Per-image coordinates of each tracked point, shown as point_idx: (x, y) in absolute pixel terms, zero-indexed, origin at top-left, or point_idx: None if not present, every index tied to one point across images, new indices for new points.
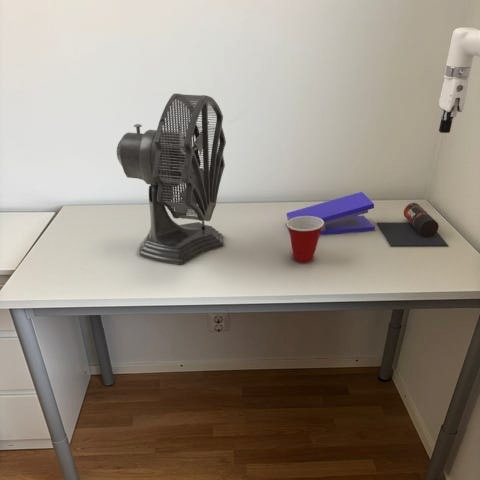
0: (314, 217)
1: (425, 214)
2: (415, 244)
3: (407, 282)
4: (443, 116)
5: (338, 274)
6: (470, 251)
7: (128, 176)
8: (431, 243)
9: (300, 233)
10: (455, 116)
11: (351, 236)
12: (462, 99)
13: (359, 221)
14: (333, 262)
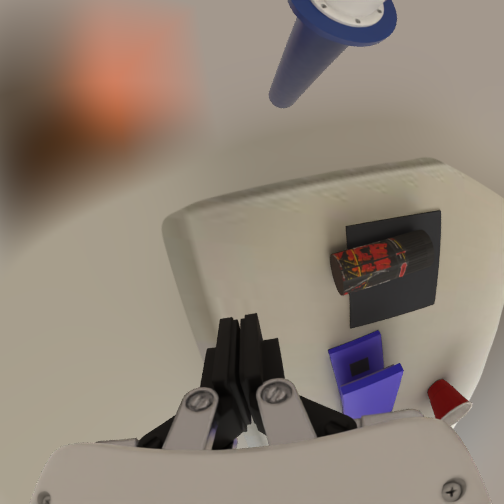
0: (447, 415)
1: (408, 263)
2: (436, 267)
3: (499, 282)
4: (236, 445)
5: (471, 350)
6: (452, 174)
7: None
8: (435, 239)
9: (462, 410)
10: (415, 412)
11: (394, 356)
12: None
13: (357, 357)
14: (451, 360)
